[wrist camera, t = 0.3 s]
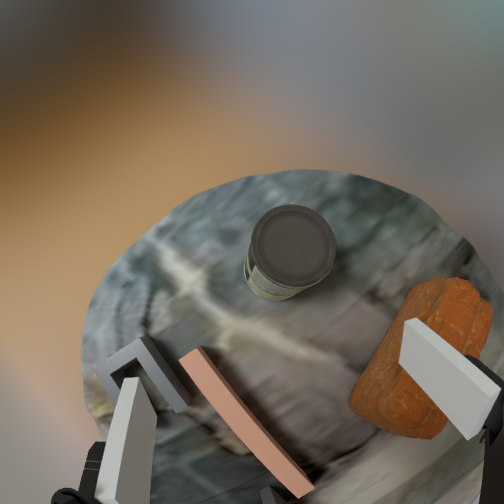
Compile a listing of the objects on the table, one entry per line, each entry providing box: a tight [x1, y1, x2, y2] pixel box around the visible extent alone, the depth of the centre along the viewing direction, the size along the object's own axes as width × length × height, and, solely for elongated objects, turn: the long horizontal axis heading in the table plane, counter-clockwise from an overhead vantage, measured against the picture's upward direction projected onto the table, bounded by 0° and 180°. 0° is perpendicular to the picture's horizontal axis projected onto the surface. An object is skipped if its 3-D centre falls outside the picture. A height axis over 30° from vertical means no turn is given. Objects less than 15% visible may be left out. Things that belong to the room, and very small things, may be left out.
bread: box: [348, 277, 493, 439], centre depth 39 cm, size 14×27×15 cm, turn 143°
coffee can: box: [244, 205, 336, 301], centre depth 42 cm, size 10×10×14 cm
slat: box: [179, 346, 315, 499], centre depth 39 cm, size 28×3×7 cm, turn 36°
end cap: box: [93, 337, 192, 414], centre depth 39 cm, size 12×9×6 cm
